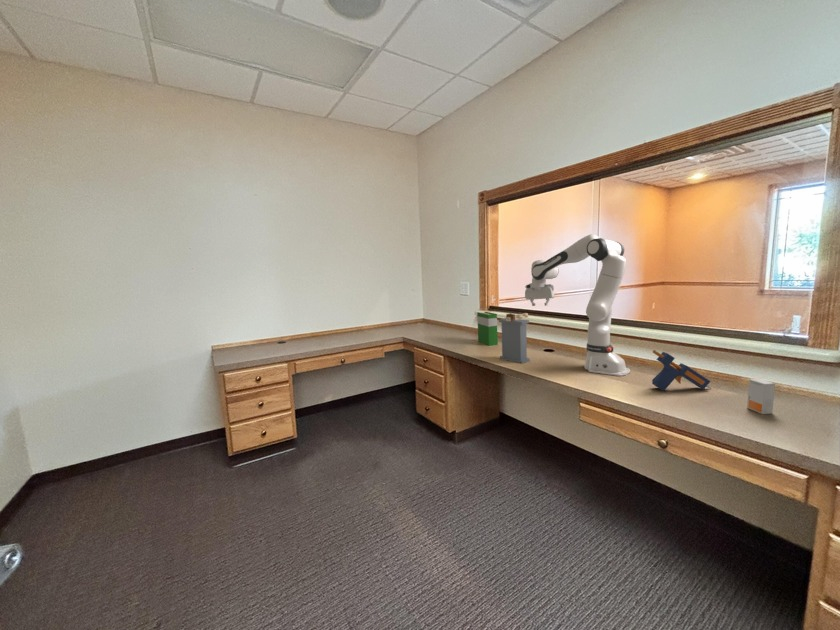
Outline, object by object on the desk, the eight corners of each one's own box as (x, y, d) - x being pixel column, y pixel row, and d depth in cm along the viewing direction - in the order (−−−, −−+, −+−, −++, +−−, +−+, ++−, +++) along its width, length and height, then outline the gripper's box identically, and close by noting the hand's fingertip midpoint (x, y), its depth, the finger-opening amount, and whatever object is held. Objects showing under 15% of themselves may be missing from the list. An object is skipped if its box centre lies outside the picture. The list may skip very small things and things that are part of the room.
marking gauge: (523, 316, 227) (523, 309, 227) (529, 317, 224) (529, 309, 223) (504, 320, 215) (504, 313, 214) (511, 321, 211) (511, 313, 210)
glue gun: (695, 411, 157) (718, 386, 154) (641, 376, 155) (663, 349, 152) (685, 405, 163) (707, 380, 160) (633, 371, 161) (654, 345, 158)
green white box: (478, 341, 278) (477, 312, 275) (486, 340, 280) (485, 311, 277) (489, 346, 262) (488, 314, 258) (497, 344, 264) (496, 313, 261)
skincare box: (746, 408, 135) (748, 378, 133) (756, 407, 135) (758, 378, 134) (762, 414, 129) (765, 384, 127) (773, 413, 129) (775, 383, 128)
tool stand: (529, 360, 216) (529, 320, 213) (522, 363, 211) (521, 321, 208) (507, 356, 229) (506, 318, 226) (499, 358, 224) (498, 319, 221)
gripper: (556, 283, 223) (556, 305, 224) (528, 285, 239) (529, 305, 240) (550, 284, 219) (551, 305, 220) (523, 286, 235) (524, 306, 236)
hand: (539, 305), depth 230 cm, fingers open, 8 cm apart
